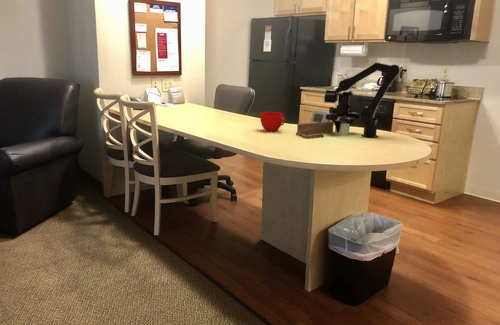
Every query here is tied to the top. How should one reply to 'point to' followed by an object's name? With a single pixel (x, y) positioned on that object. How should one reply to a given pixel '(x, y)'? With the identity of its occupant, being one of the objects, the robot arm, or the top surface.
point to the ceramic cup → (271, 121)
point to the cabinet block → (343, 129)
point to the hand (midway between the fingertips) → (342, 132)
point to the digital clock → (319, 116)
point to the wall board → (314, 129)
